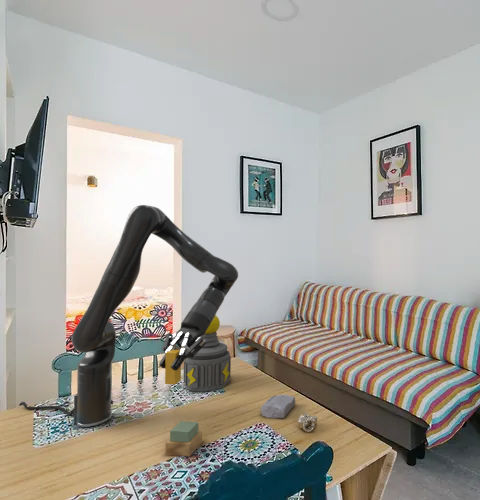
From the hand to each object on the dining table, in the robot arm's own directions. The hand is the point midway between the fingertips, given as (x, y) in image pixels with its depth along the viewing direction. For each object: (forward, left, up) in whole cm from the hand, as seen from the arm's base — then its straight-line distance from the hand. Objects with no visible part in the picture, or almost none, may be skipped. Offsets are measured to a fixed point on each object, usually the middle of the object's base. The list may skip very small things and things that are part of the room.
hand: (167, 367), depth 99 cm
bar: (0, +2, -5) cm, 5 cm away
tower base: (+4, +3, -24) cm, 25 cm away
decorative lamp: (-12, +49, -24) cm, 56 cm away
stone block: (+24, +29, -24) cm, 44 cm away
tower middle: (+4, +3, -21) cm, 21 cm away
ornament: (+37, +19, -24) cm, 48 cm away
